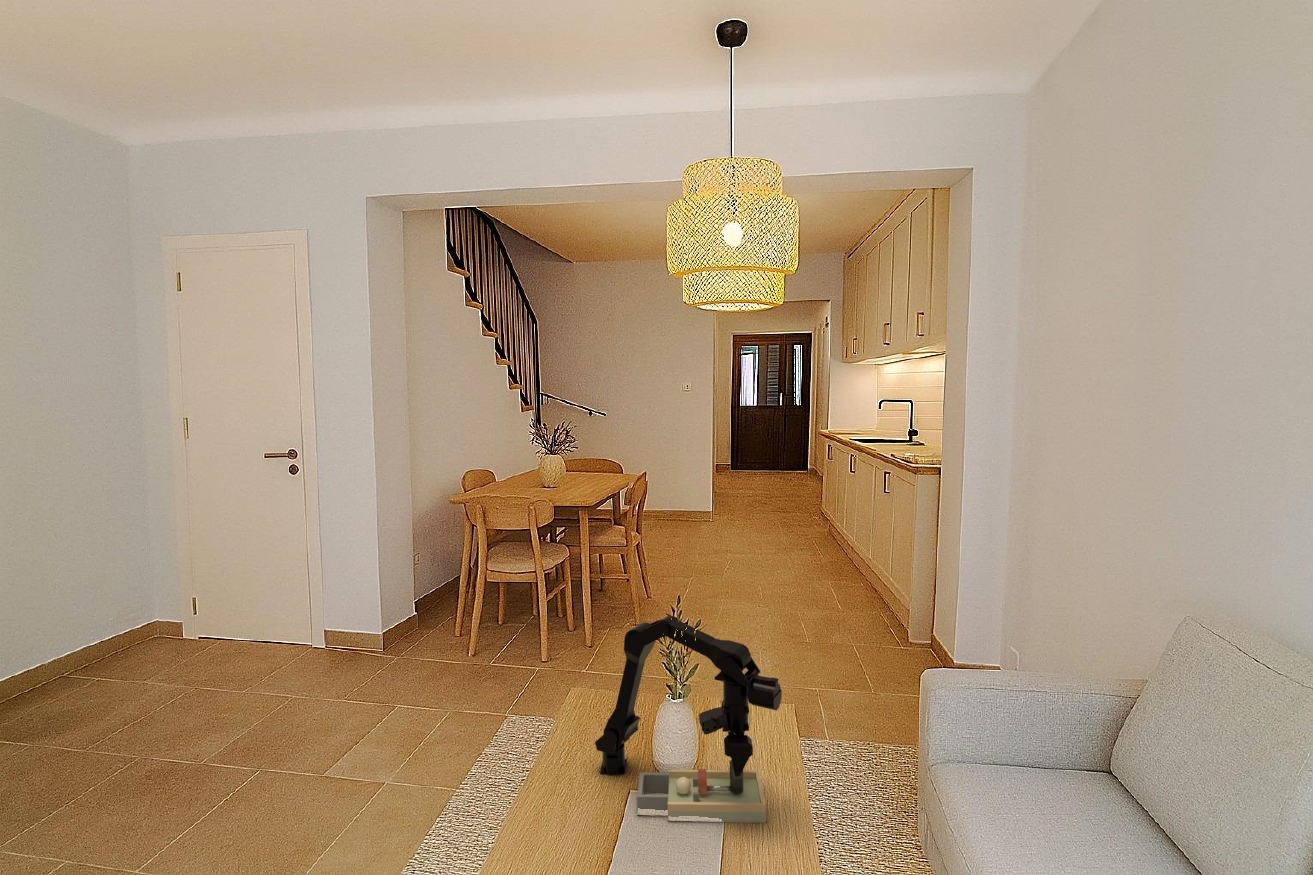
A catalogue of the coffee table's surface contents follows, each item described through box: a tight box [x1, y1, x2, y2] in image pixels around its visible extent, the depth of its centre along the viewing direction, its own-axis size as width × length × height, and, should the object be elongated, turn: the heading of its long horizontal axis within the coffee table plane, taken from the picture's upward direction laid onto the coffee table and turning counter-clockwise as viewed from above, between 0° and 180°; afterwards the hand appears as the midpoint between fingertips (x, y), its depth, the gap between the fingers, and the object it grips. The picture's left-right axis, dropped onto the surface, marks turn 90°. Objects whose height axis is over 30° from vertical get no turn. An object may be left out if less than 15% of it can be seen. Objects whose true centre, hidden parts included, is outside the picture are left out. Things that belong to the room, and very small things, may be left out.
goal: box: [636, 771, 669, 811], centre depth 161 cm, size 10×7×4 cm
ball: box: [676, 777, 691, 794], centre depth 161 cm, size 4×4×4 cm
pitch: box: [667, 769, 767, 824], centre depth 161 cm, size 14×22×4 cm, turn 88°
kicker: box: [697, 759, 744, 794], centre depth 160 cm, size 4×11×7 cm, turn 88°
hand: (735, 764), depth 160 cm, fingers open, 9 cm apart
